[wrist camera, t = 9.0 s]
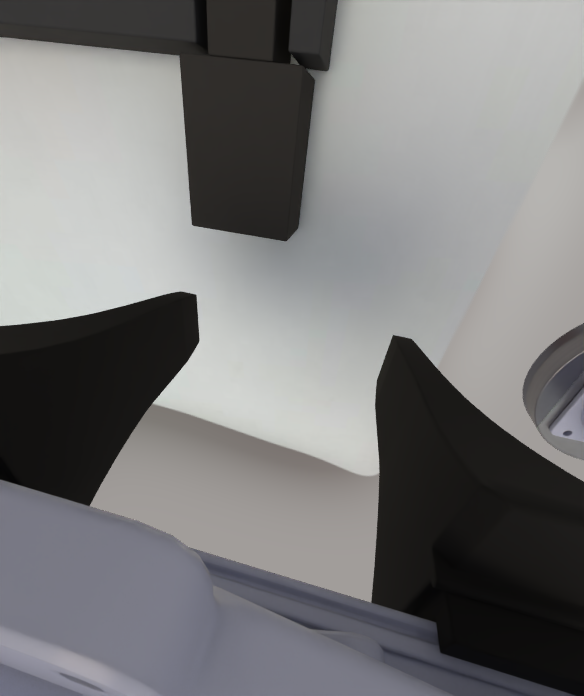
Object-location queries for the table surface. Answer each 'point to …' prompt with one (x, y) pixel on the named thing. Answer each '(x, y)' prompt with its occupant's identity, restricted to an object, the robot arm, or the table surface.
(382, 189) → the table surface
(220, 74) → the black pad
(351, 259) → the table surface
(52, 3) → the graphite pad
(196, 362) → the table surface
